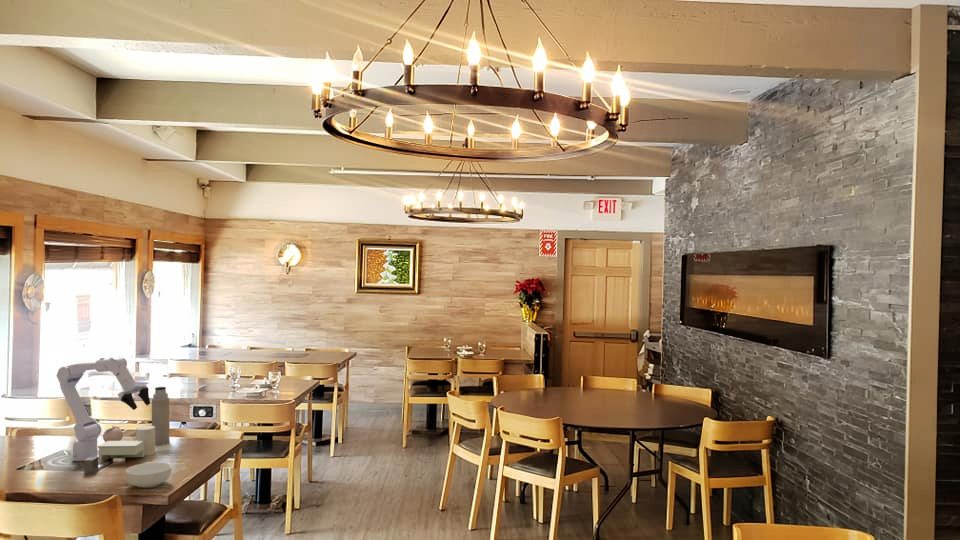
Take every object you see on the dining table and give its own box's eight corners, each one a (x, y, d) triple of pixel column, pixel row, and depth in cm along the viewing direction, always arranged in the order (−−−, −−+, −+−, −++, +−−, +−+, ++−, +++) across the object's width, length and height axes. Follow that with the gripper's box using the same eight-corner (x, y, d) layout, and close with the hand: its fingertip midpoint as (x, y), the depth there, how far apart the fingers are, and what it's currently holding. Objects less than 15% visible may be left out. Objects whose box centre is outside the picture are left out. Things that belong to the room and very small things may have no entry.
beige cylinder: (147, 455, 329) (147, 430, 329) (132, 454, 331) (132, 429, 331) (158, 451, 337) (158, 426, 337) (143, 450, 339) (143, 425, 338)
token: (110, 464, 315) (110, 459, 315) (115, 461, 320) (115, 456, 320) (122, 464, 316) (122, 459, 316) (127, 461, 321) (127, 455, 321)
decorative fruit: (116, 448, 342) (116, 427, 342) (100, 448, 342) (100, 427, 342) (126, 443, 351) (126, 423, 351) (110, 443, 351) (110, 423, 351)
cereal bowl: (124, 494, 275) (124, 476, 275) (126, 481, 290) (126, 464, 290) (171, 488, 282) (171, 471, 282) (171, 476, 297) (171, 460, 297)
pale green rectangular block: (98, 463, 317) (97, 446, 317) (107, 457, 326) (107, 440, 326) (135, 462, 318) (135, 445, 318) (144, 456, 327) (144, 440, 327)
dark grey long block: (84, 474, 300) (84, 460, 300) (101, 463, 316) (101, 450, 316) (92, 474, 300) (92, 460, 300) (109, 463, 316) (109, 450, 316)
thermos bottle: (163, 440, 357) (163, 385, 357) (172, 442, 353) (172, 386, 353) (148, 443, 351) (148, 387, 350) (158, 446, 346) (157, 389, 346)
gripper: (119, 380, 310) (134, 406, 309) (144, 373, 324) (159, 397, 322) (109, 388, 313) (125, 414, 311) (135, 381, 326) (150, 405, 324)
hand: (142, 406), depth 317 cm, fingers open, 7 cm apart
